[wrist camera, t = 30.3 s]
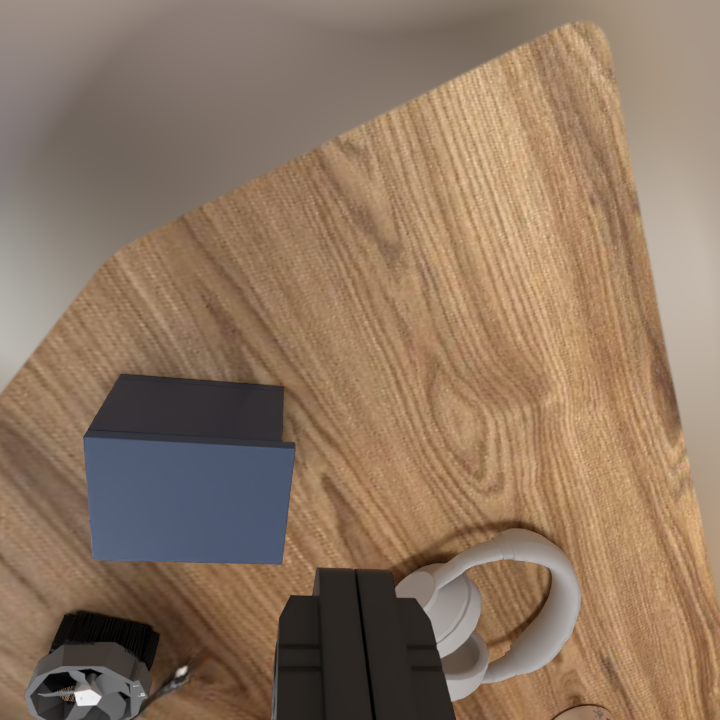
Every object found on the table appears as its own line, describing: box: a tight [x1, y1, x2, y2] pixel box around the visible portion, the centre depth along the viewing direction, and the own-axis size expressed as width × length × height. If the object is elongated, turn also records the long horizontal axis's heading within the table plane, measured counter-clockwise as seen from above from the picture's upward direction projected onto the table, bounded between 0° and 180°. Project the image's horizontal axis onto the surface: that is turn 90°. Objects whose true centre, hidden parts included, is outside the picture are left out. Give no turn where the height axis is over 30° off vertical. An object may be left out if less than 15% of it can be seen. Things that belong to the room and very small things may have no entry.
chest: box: [88, 374, 284, 442], centre depth 43 cm, size 13×11×8 cm
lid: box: [83, 430, 295, 565], centre depth 39 cm, size 14×11×1 cm
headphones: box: [395, 528, 581, 701], centre depth 55 cm, size 18×8×20 cm
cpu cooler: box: [25, 611, 160, 720], centre depth 54 cm, size 10×6×10 cm
